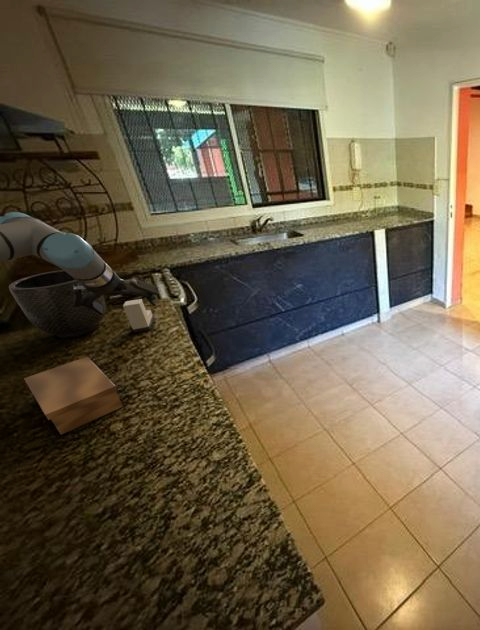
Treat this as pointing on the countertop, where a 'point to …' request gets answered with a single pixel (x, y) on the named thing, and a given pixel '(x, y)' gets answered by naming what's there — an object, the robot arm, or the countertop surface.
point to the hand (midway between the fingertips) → (128, 306)
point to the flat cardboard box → (74, 394)
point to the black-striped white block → (138, 315)
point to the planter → (55, 304)
